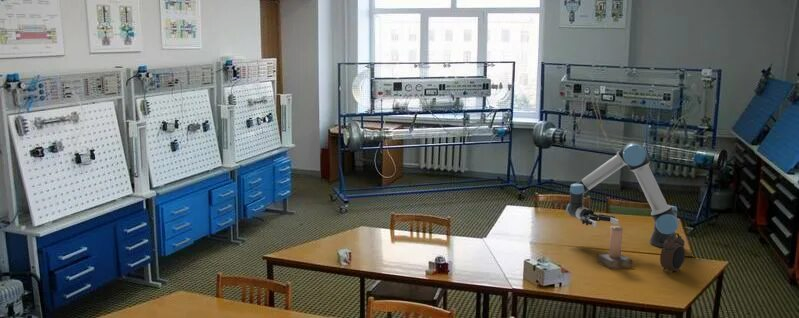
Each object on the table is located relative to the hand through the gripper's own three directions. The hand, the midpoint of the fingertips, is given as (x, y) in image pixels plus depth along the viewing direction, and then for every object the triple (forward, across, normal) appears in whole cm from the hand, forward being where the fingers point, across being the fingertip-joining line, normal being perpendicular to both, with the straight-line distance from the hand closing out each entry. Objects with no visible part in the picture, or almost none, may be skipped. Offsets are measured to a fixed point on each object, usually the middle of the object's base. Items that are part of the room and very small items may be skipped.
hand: (607, 223), depth 384 cm
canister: (+12, +3, -15) cm, 19 cm away
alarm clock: (+30, -19, -20) cm, 41 cm away
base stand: (+12, +3, -19) cm, 23 cm away
